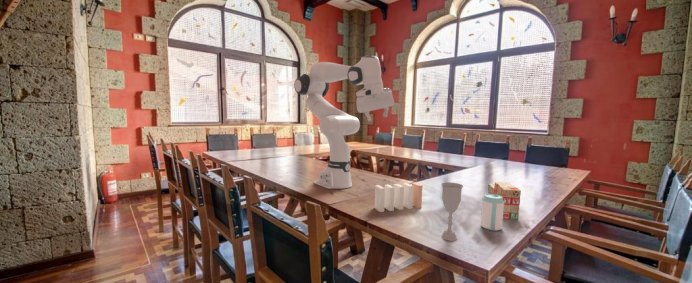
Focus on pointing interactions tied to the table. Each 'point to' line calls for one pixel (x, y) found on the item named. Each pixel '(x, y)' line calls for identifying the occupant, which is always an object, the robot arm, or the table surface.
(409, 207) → the domino
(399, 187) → the domino
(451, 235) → the chalice
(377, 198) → the domino
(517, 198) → the stack of blocks
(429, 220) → the table surface
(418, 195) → the domino
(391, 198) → the domino
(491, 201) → the can
